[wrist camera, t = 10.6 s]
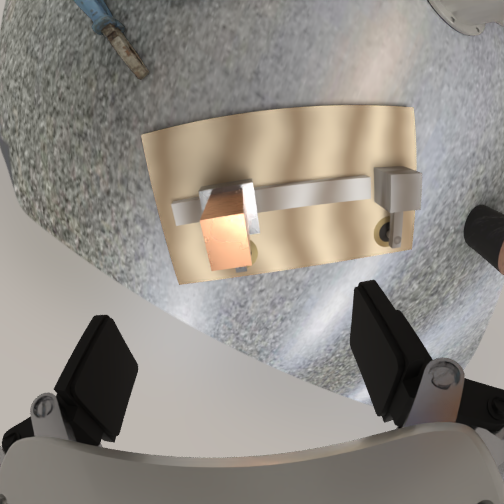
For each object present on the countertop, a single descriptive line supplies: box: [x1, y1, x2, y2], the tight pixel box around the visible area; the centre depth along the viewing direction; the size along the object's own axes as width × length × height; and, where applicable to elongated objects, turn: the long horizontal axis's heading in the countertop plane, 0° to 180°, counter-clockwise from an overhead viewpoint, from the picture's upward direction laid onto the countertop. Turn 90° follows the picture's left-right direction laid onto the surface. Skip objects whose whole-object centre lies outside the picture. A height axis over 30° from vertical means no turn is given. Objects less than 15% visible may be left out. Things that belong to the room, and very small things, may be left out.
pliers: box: [74, 0, 149, 80], centre depth 18 cm, size 20×2×6 cm, turn 32°
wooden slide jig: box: [141, 105, 422, 285], centre depth 28 cm, size 30×18×6 cm, turn 98°
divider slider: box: [198, 178, 260, 273], centre depth 25 cm, size 5×10×10 cm, turn 8°
